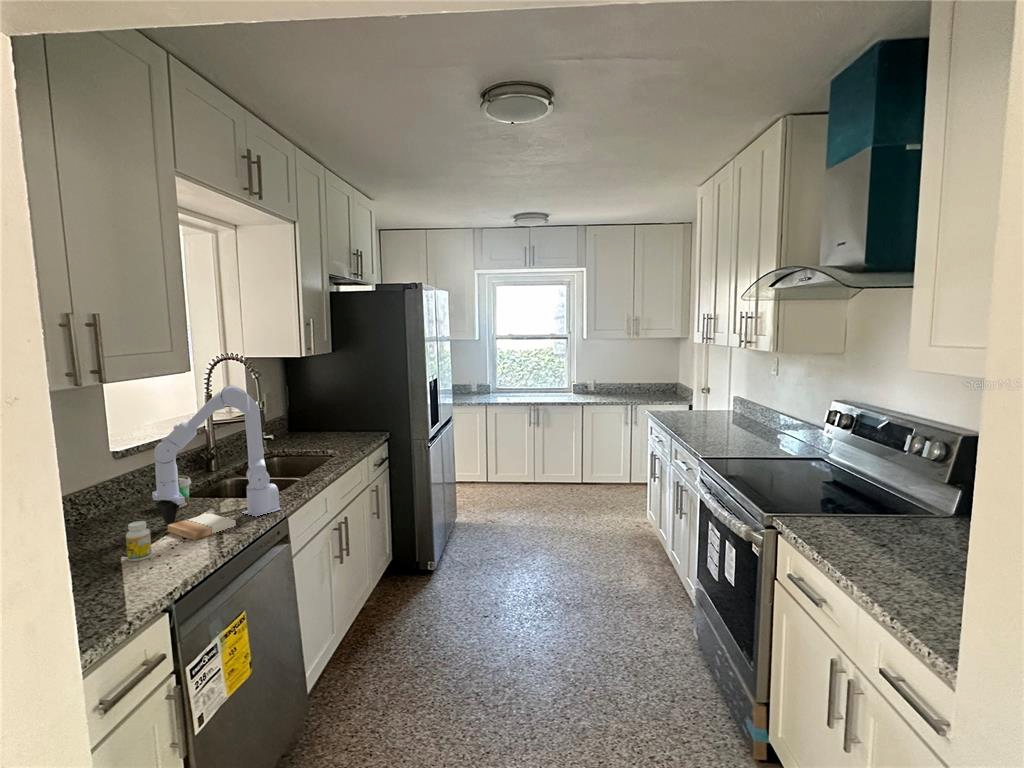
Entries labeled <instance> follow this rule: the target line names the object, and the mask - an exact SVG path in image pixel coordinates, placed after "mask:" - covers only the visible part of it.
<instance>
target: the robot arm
mask: <svg viewBox="0 0 1024 768" xmlns="http://www.w3.org/2000/svg"><path fill="white" fill-rule="evenodd" d="M225 405H226V406H228V407H231V408H234V409H236V410H238V411H240V412H241V413H243V415H244V423H245V424H244V426H245V432H246V446H247V457H248V458H247V459H248V462H247V465H248V468H247V471H246V473H245V474H246V475H245V476H246V479H247V480H248V484H247V485H246V502H247V503H246V505H247V510H245V511H242V512H241V514H242V513H244V514H243V515H245V514H248V515H247V516H249V515H252V516H251V517H253V516H256V517H255V518H258V517H257V516H260V515H263V514H266V515H268V514H267V513H269V514H271V512H272V513H274V512H277V511H279V510H281V509H282V508H281V507H280V496H279V495H280V494H279V492H280V491H279V487H278V486H277V485H276V484H275V483H272V482H271V483H270V481H271V477H270V474H269V472H268V471H267V466H266V462H265V456H264V455H265V454H264V444H263V433H262V421H261V410H260V409H261V408H260V406H259V404H258V403H257V402H256V401H255V400H254V399H253V398H252V397H251V396H250V395H249V394H248V393H247V392H246V391H245V390H244V389H242V388H241V387H238V386H237V385H234V384H231V385H230V384H229V385H227V386H225V387H223V388H222V389H221V391H219V392H217V393H216V394H215V395H214V396H212V397H211V398H210V399H209V400H208V401H207V402H206V403H205V404H204V405H202V407H201V408H200V409H199V410H198V411H197V412H196V414H195V415H193V416H192V417H191V419H189V421H187V422H181V423H179V424H175V425H174V426H173V430H172V431H171V432H170V433H169V434H168V435H167V436H166V437H163V438H161V442H160V443H158V444H156V445H155V448H154V451H153V456H154V459H155V462H154V463H155V464H154V465H155V468H154V470H155V471H154V472H155V473H154V474H155V485H156V490H155V491H152V492H151V495H152V500H154V501H157V502H155V506H156V507H157V508H158V509H159V511H160V513H161V515H162V518H163V520H164V523H165V524H166V525H170V524H174V523H176V522H175V521H176V517H177V512H178V510H179V509H178V508H179V506H180V504H183V503H185V497H183V496H182V495H181V494H180V493H179V487H178V475H179V473H178V465H177V461H176V460H177V459H176V457H177V454H178V452H179V451H182V450H183V449H184V447H186V446H187V445H188V444H189V443H190V442H191V441H192V440H193V439H194V438H195V437H196V436H197V433H198V432H197V429H198V428H199V427H200V426H201V425H202V424H204V423H205V422H206V421H207V419H208V418H210V417H211V416H212V415H213V414H214V413H215V412H217V411H220V410H224V409H226V408H227V407H226V406H225ZM263 516H264V515H263ZM260 517H261V516H260Z"/></svg>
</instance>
